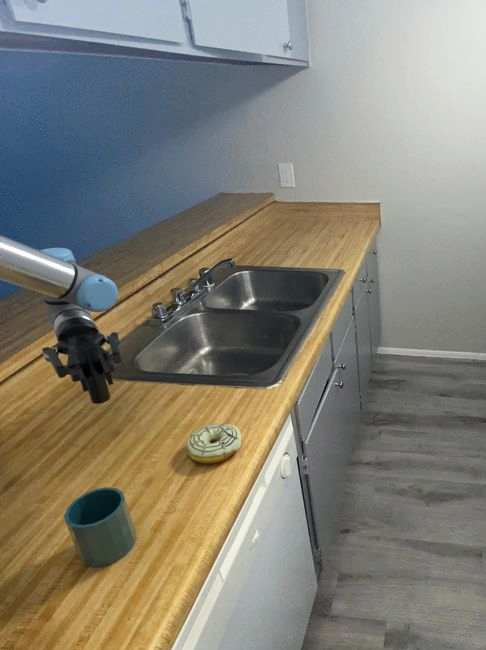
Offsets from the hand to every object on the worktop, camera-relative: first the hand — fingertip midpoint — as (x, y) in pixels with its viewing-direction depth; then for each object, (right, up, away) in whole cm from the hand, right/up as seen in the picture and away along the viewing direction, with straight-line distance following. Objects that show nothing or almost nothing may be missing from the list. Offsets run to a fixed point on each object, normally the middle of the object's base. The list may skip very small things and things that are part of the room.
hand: (97, 381), depth 85 cm
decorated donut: (+16, -16, +14) cm, 27 cm away
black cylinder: (-4, -4, +7) cm, 9 cm away
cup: (+7, -26, -7) cm, 28 cm away
